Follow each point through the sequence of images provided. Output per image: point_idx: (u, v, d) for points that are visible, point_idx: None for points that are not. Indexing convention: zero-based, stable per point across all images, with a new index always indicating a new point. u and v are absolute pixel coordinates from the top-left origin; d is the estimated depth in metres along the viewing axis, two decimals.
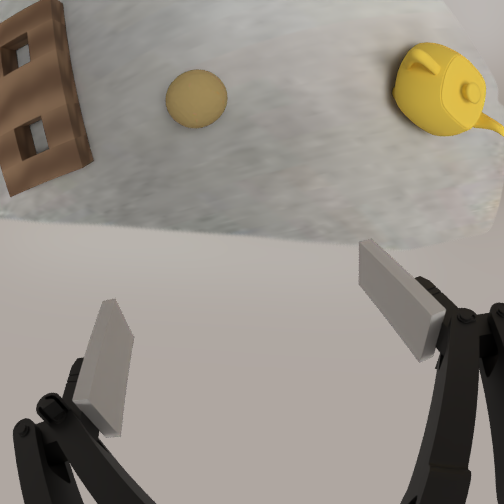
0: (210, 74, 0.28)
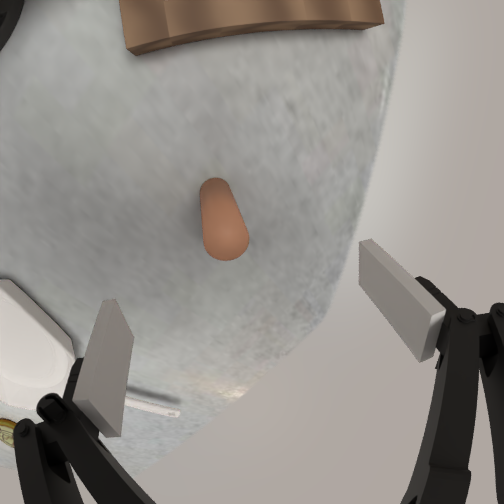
0: None
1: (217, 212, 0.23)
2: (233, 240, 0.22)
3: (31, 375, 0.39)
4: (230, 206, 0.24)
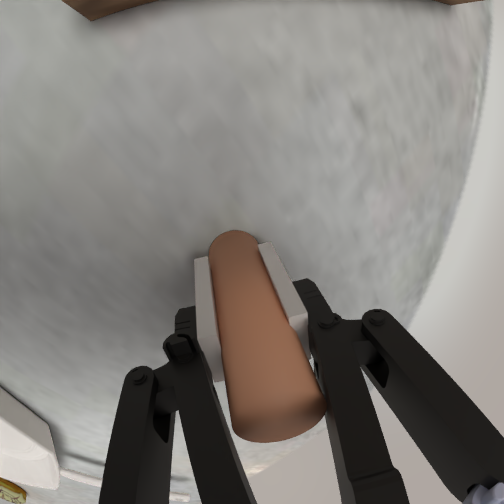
0: None
1: (259, 358, 0.10)
2: (294, 417, 0.09)
3: (11, 448, 0.27)
4: (282, 331, 0.11)
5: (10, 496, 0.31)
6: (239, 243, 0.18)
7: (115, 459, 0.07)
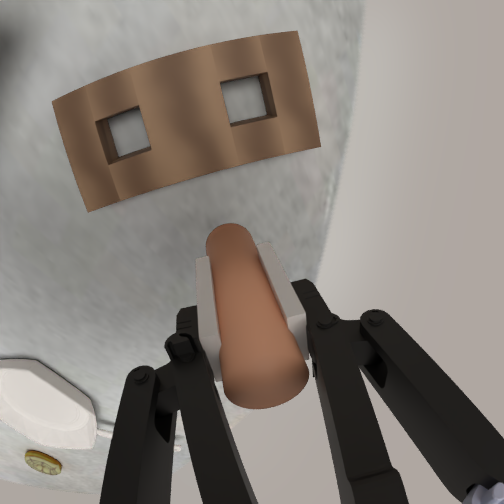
0: None
1: (247, 328, 0.12)
2: (279, 382, 0.11)
3: (59, 422, 0.48)
4: (269, 307, 0.13)
5: (49, 467, 0.53)
6: (233, 234, 0.19)
7: (116, 459, 0.07)
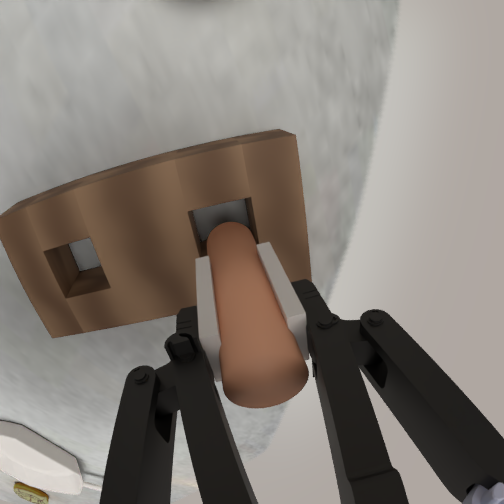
0: None
1: (246, 327, 0.12)
2: (279, 381, 0.11)
3: (47, 469, 0.43)
4: (269, 306, 0.13)
5: (37, 499, 0.47)
6: (233, 232, 0.19)
7: (116, 459, 0.07)
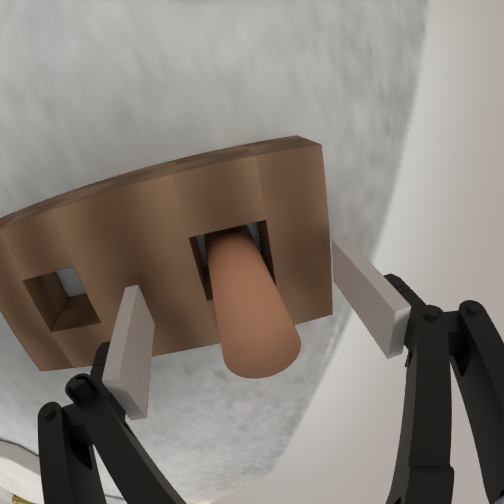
0: None
1: (244, 302, 0.13)
2: (274, 351, 0.13)
3: None
4: (263, 284, 0.14)
5: None
6: None
7: (50, 491, 0.06)
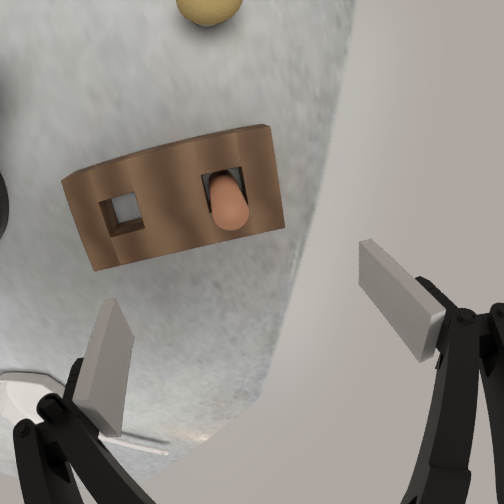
0: None
1: (223, 192, 0.28)
2: (236, 213, 0.28)
3: None
4: (234, 188, 0.30)
5: None
6: (222, 171, 0.36)
7: None
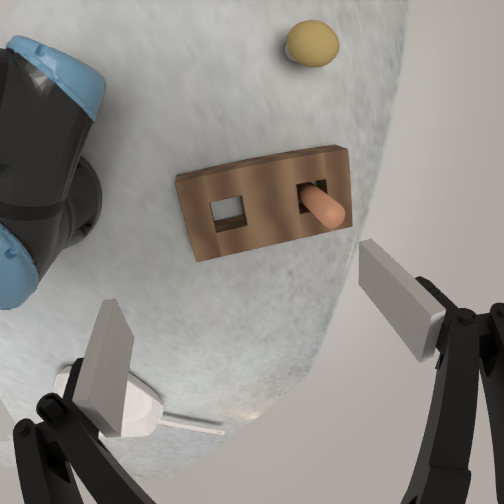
0: (297, 28, 0.30)
1: (325, 199, 0.38)
2: (336, 215, 0.37)
3: None
4: (330, 197, 0.39)
5: None
6: None
7: None
